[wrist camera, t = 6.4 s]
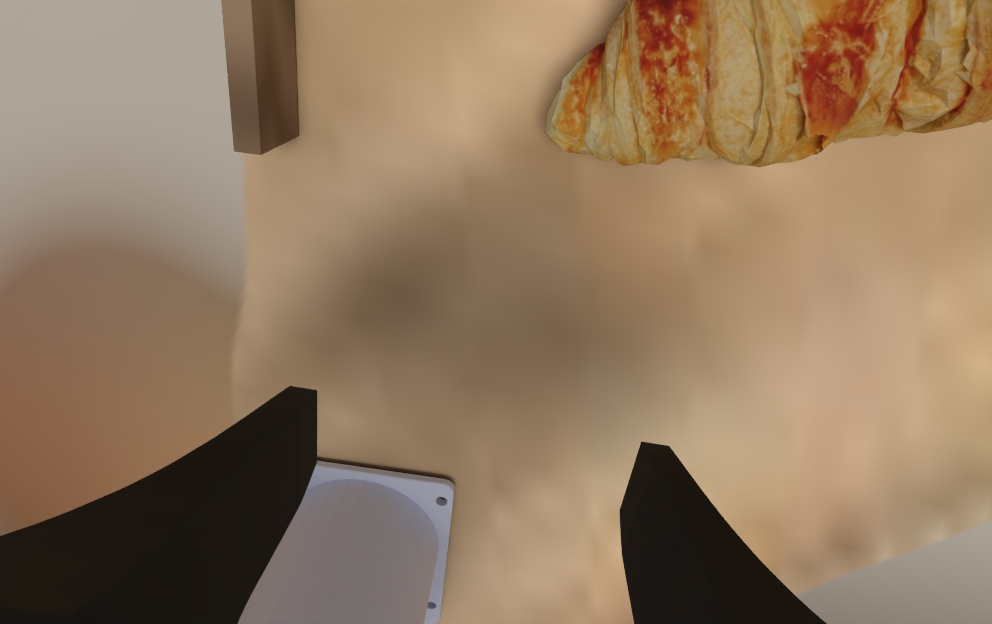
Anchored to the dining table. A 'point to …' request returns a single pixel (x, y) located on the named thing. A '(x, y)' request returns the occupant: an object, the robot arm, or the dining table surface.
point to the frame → (261, 73)
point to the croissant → (773, 78)
